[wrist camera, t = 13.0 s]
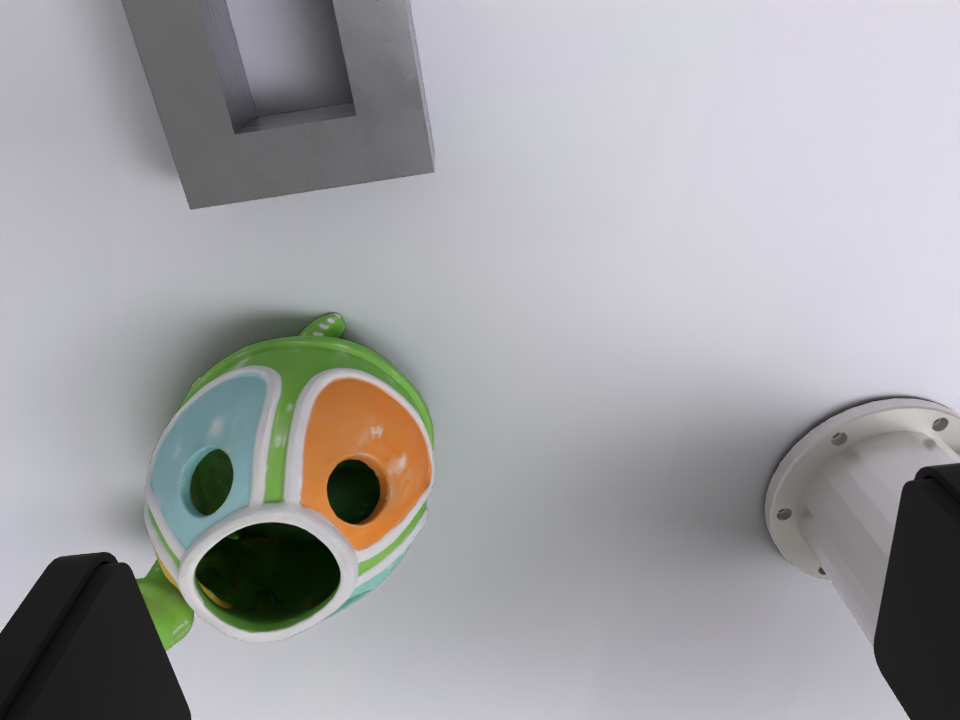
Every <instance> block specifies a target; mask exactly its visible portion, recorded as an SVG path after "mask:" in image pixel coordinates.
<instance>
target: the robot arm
mask: <svg viewBox="0 0 960 720" xmlns="http://www.w3.org/2000/svg"><path fill="white" fill-rule="evenodd" d="M764 512H765V519H766V526H767V528H768V531H769V533H770V535H771V538H772V540H773V541H774V543H775V544H776V546H777V548H778V549H779V551H780V552H781V554H782V555H783V556H784V557H785V558H786V559H787V560H788V561H789V562H790V563H791V564H792V565H793V566H795V567H797V568H798V569H800V570H802V571H803V572H805V573H807V574H810V575H812V576H815V577H817V578H821V579H827V580H830V581H831V582H832V584H833V585H834V587H835V588H836V590H837V591H838V593H839V595H840V596H841V598H842V599H843V601H844V602H845V604H846V605H847V607H848V608H849V610H850V612H851V613H852V615H853V616H854V618H855V619H856V621H857V622H858V624H859V625H860V627H861V628H862V630H863V632H864V633H865V635H866V636H867V638H868V639H869V641H870V642H871V644H872V645H873V647H874V654H875V658H876V662H877V664H878V667H879V669H880V671H881V673H882V675H883V677H884V678H885V680H886V681H887V683H888V685H889V686H890V688H891V689H892V691H893V693H894V694H895V696H896V697H897V699H898V701H899V702H900V704H901V705H902V707H903V709H904V710H905V712H906V713H907V715H908V716H909V718H910V720H960V416H959V415H958V414H956V413H955V412H954V411H952V410H951V409H948V408H946V407H944V406H942V405H939V404H937V403H934V402H929V401H925V400H920V399H904V398H894V399H887V400H880V401H873V402H870V403H866V404H863V405H860V406H857V407H853V408H850V409H848V410H846V411H844V412H842V413H840V414H837V415H835V416H833V417H831V418H829V419H828V420H826V421H825V422H823V423H822V424H820V425H819V426H817V427H815V428H814V429H812V430H811V431H810V432H809V433H808V434H806V435H805V436H804V437H803V438H802V439H801V440H800V441H798V442H797V443H796V444H795V445H794V446H793V447H792V449H791V450H790V451H789V452H788V453H787V455H786V456H785V457H784V458H783V459H782V461H781V462H780V464H779V466H778V468H777V469H776V471H775V473H774V475H773V476H772V478H771V481H770V484H769V487H768V490H767V493H766V500H765V509H764ZM0 720H191V713H190V710H189V707H188V704H187V702H186V700H185V697H184V695H183V692H182V690H181V688H180V685H179V683H178V680H177V678H176V676H175V673H174V671H173V668H172V666H171V663H170V661H169V659H168V656H167V654H166V651H165V649H164V647H163V644H162V642H161V639H160V637H159V635H158V632H157V630H156V627H155V625H154V622H153V620H152V618H151V615H150V613H149V610H148V608H147V606H146V603H145V601H144V598H143V596H142V593H141V591H140V589H139V586H138V584H137V581H136V579H135V577H134V574H133V572H132V570H131V568H130V566H129V565H127V564H126V563H118V561H117V560H116V558H115V557H114V556H113V555H112V554H111V553H107V552H100V553H90V554H80V555H71V556H61V557H58V558H56V559H54V560H53V561H52V562H51V563H50V564H49V565H48V566H47V568H46V569H45V571H44V572H43V574H42V575H41V576H40V578H39V579H38V581H37V582H36V583H35V585H34V586H33V588H32V589H31V591H30V592H29V593H28V595H27V596H26V598H25V599H24V600H23V602H22V603H21V605H20V606H19V608H18V609H17V610H16V612H15V613H14V615H13V616H12V617H11V619H10V620H9V622H8V623H7V625H6V626H5V627H4V629H3V630H2V632H1V633H0Z"/></svg>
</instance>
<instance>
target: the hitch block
mask: <svg viewBox="0 0 960 720" xmlns="http://www.w3.org/2000/svg"><path fill="white" fill-rule="evenodd" d="M121 1H122V4H123V7H124V10H125V13H126V16H127V19H128V22H129V25H130V28H131V31H132V34H133V37H134V40H135V43H136V46H137V49H138V52H139V56H140V59H141V62H142V65H143V68H144V71H145V74H146V77H147V80H148V83H149V86H150V89H151V92H152V95H153V98H154V101H155V104H156V107H157V110H158V113H159V116H160V119H161V122H162V125H163V128H164V131H165V134H166V137H167V140H168V143H169V146H170V149H171V152H172V156H173V159H174V162H175V165H176V168H177V171H178V174H179V177H180V180H181V183H182V186H183V189H184V192H185V195H186V198H187V201H188V204H189V207H190V210H191V209H197V208H204V207H210V206H217V205H223V204H230V203H236V202H243V201H250V200H256V199H263V198H269V197H276V196H282V195H289V194H295V193H302V192H308V191H315V190H321V189H328V188H335V187H341V186H348V185H354V184H361V183H367V182H374V181H380V180H387V179H393V178H400V177H406V176H413V175H420V174H426V173H433V172H434V155H435V151H434V145H433V139H432V133H431V127H430V121H429V115H428V109H427V103H426V97H425V91H424V85H423V79H422V73H421V67H420V61H419V55H418V49H417V43H416V37H415V30H414V24H413V18H412V12H411V6H410V0H332V1H333V6H334V11H335V16H336V20H337V25H338V30H339V35H340V39H341V44H342V49H343V54H344V59H345V63H346V68H347V73H348V78H349V82H350V87H351V92H352V97H353V101H354V102H351V103H345V104H339V105H332V106H326V107H319V108H313V109H306V110H300V111H293V112H287V113H281V114H274V115H268V116H261V117H257V115H256V111H255V108H254V104H253V100H252V97H251V93H250V89H249V86H248V82H247V78H246V75H245V71H244V67H243V63H242V60H241V56H240V52H239V49H238V45H237V41H236V38H235V34H234V30H233V27H232V23H231V19H230V15H229V12H228V8H227V4H226V1H225V0H121Z"/></svg>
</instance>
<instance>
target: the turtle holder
mask: <svg viewBox="0 0 960 720" xmlns="http://www.w3.org/2000/svg"><path fill="white" fill-rule="evenodd" d="M344 331H345V322H344V320H343V318H342V316H340V315H338V314H337V313H331V314H328V315H325V316H322V317H320V318H318V319H316V320H315V321H313V322H312V323H310V324H309V325H308V326H307V327H306V328H304V329H303V331H302V332H301V333H300V334H299V335H298V336H291V337H282V338H275V339H270V340H266V341H262V342H258V343H254V344H252V345H249V346H246V347H244V348H242V349H240V350H238V351H236V352H234V353H232V354H231V355H229V356H227V357H226V358H224V359H223V360H221V361H220V362H218V363H217V364H216V365H214V366H213V367H212V368H211V369H209V370H208V371H207V372H206V373H205V374H204V375H203V376H201V377H199V378H197V379H196V380H195V381H194V382H193V384H192V386H191V388H190V390H189V392H188V393H187V395H186V396H185V398H184V400H183V402H182V404H181V405H180V407H179V409H178V411H177V413H176V414H175V415H174V417H173V418H172V420H171V421H170V423H169V424H168V426H167V427H166V429H165V430H164V432H163V434H162V435H161V437H160V439H159V441H158V442H157V445H156V447H155V449H154V452H153V454H152V457H151V460H150V463H149V468H148V473H147V478H146V486H145V495H146V499H145V504H144V520H145V525H146V528H147V531H148V533H149V536H150V539H151V541H152V544H153V547H154V550H155V553H156V556H157V560H156V562H155V563H154V565H153V566H152V568H151V569H150V571H149V573H148V574H147V575H146V577H145V578H142V579H136V581H137V584H138V586H139V589H140V591H141V593H142V596H143V598H144V601H145V603H146V606H147V608H148V610H149V613H150V615H151V618H152V620H153V622H154V625H155V627H156V630H157V632H158V635H159V637H160V639H161V642H162V644H163V647H164V649H165V651H166V650H168V649H169V648H171V647H172V646H173V645H174V644H176V643H178V642H179V641H180V640H182V639H183V638H184V637H185V636H186V635H187V633H188V632H189V630H190V629H191V627H192V624H193V618H194V612H196V613H197V614H198V615H199V616H200V617H201V618H203V619H204V620H205V621H206V622H208V623H209V624H211V625H212V626H213V627H215V628H216V629H218V630H219V631H221V632H222V633H224V634H225V635H227V636H230V637H232V638H235V639H238V640H241V641H245V642H272V641H279V640H283V639H286V638H288V637H291V636H293V635H296V634H298V633H300V632H302V631H304V630H306V629H308V628H310V627H312V626H313V625H315V624H317V623H318V622H320V621H323V620H325V619H327V618H329V617H331V616H332V615H334V614H336V613H338V612H339V611H341V610H343V609H345V608H346V607H348V606H349V605H351V604H352V603H354V602H356V601H357V600H359V599H360V598H361V597H363V596H364V595H365V594H367V593H368V592H370V591H371V590H373V589H374V588H376V587H377V586H378V585H379V584H380V583H381V582H382V581H383V580H384V579H385V578H386V577H387V576H388V575H389V574H390V573H391V572H392V570H393V569H394V568H395V567H396V565H397V564H398V563H399V562H400V560H401V559H402V557H403V556H404V554H405V553H406V551H407V550H408V548H409V546H410V544H411V542H412V540H413V539H414V538H415V536H416V535H417V534H418V532H419V531H420V529H421V528H422V527H423V525H424V523H425V522H426V520H427V517H428V509H427V507H426V501H427V498H428V496H429V494H430V492H431V490H432V488H433V484H434V478H435V463H434V455H433V438H434V436H433V426H432V421H431V417H430V414H429V411H428V408H427V406H426V404H425V402H424V400H423V398H422V397H421V395H420V394H419V393H418V391H417V390H416V389H415V387H414V386H413V385H412V384H411V383H410V382H409V381H408V380H407V379H406V378H405V376H404V375H403V374H402V373H400V372H399V371H398V370H397V369H396V368H395V367H394V366H393V365H392V364H391V363H390V362H389V361H388V360H386V359H385V358H383V357H382V356H381V355H379V354H378V353H376V352H375V351H373V350H371V349H369V348H367V347H365V346H363V345H361V344H358V343H355V342H352V341H349V340H344V339H339V338H340V337H341V335H342V334H343V333H344Z"/></svg>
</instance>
